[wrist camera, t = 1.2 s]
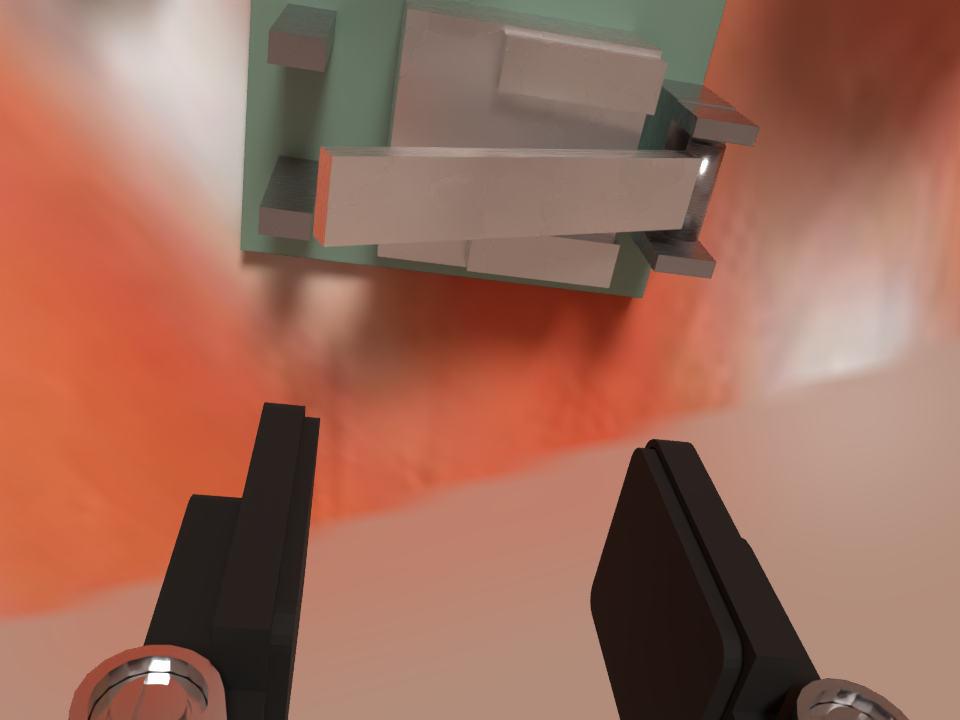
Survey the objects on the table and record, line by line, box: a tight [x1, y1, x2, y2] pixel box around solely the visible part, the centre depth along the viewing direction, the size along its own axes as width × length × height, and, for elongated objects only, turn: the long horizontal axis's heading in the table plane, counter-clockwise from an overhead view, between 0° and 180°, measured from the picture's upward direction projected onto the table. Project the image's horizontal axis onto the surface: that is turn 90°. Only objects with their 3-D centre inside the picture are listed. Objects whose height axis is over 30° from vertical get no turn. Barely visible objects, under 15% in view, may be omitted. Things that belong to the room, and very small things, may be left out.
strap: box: [313, 137, 726, 247], centre depth 26 cm, size 14×3×1 cm, turn 82°
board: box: [240, 0, 727, 298], centre depth 32 cm, size 16×12×1 cm
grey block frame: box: [258, 0, 759, 288], centre depth 30 cm, size 15×8×6 cm, turn 81°
